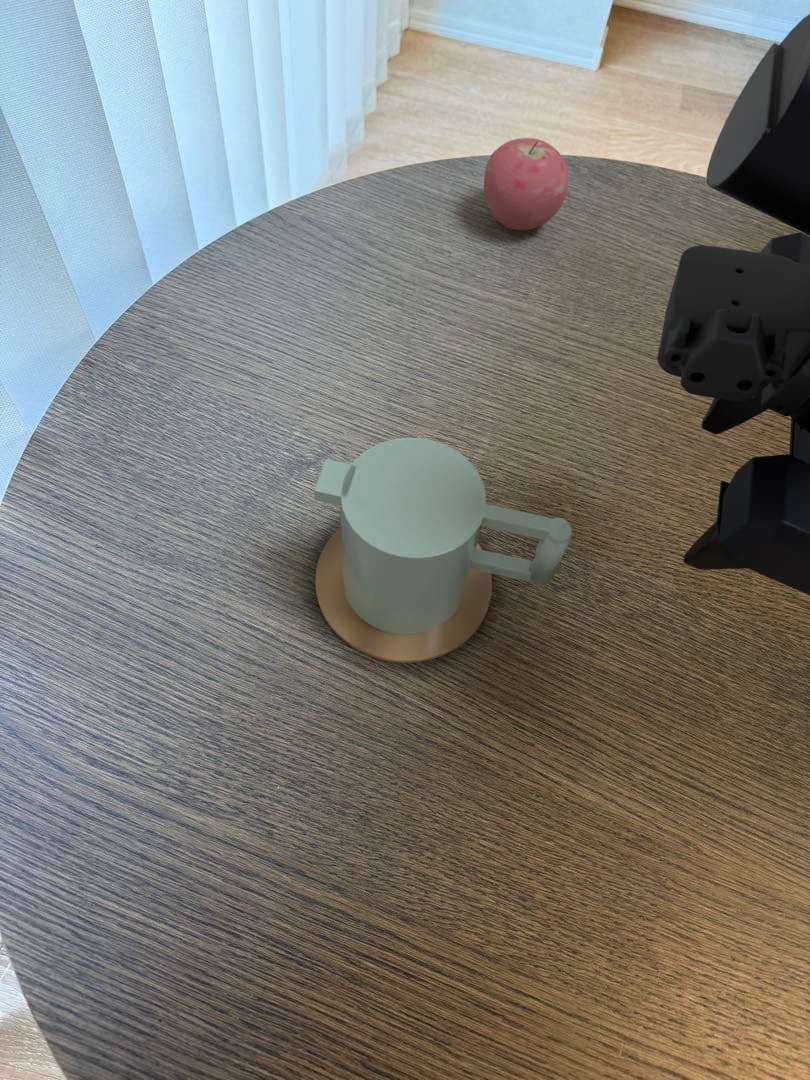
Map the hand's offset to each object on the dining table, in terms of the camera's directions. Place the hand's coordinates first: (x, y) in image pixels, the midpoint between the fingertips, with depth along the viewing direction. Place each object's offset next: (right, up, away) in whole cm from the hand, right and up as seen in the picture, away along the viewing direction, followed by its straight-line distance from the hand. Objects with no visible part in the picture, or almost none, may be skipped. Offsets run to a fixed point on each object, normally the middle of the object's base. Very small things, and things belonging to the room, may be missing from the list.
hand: (700, 492), depth 44 cm
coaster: (-16, -5, +12) cm, 21 cm away
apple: (-5, +27, +33) cm, 43 cm away
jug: (-14, -6, +11) cm, 19 cm away
